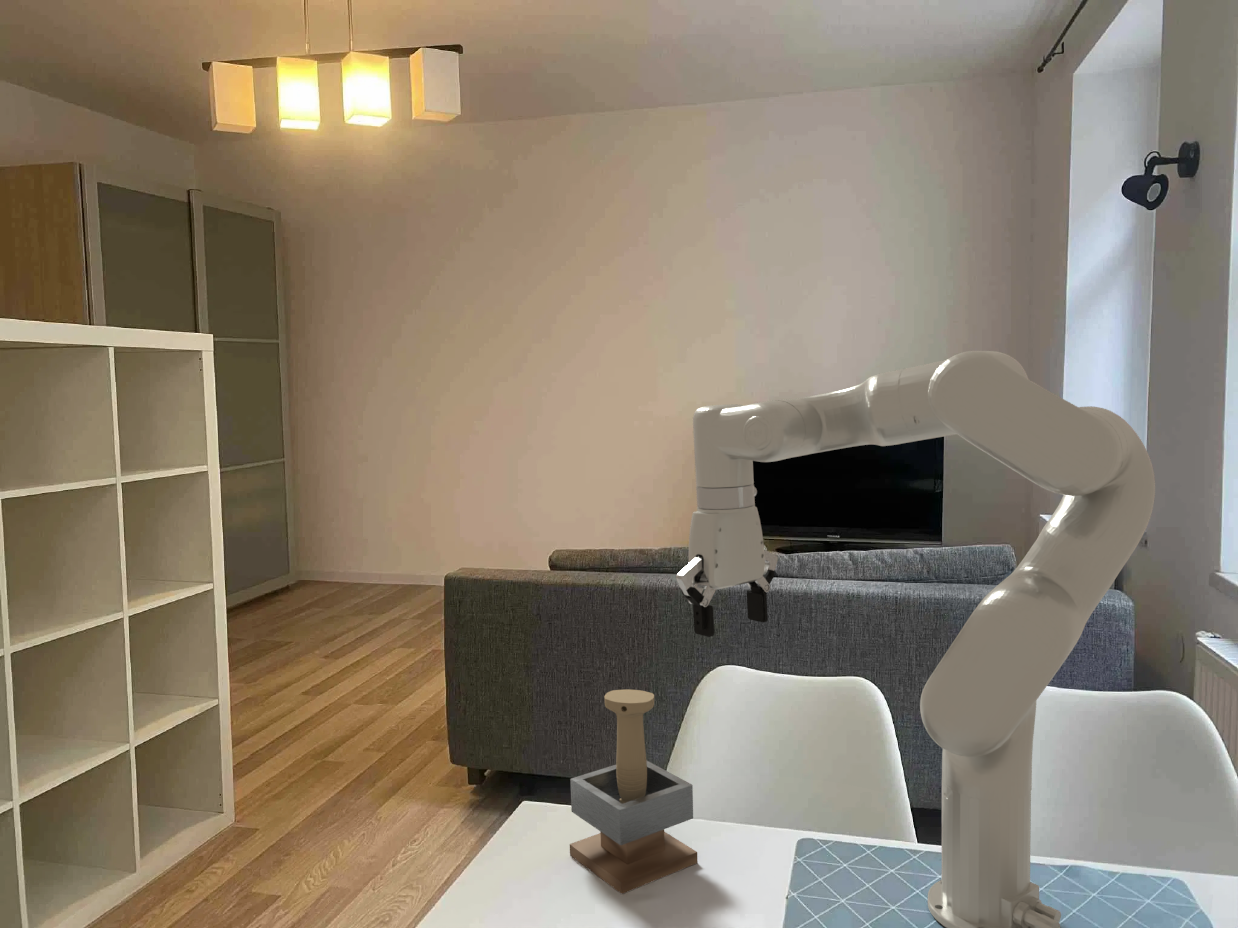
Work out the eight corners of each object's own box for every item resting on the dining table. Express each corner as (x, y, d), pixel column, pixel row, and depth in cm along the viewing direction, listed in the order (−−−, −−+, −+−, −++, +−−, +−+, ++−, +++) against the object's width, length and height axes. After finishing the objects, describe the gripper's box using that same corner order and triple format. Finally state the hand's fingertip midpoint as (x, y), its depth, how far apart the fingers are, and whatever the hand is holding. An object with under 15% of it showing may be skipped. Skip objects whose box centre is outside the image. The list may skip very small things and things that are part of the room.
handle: (651, 818, 119) (648, 704, 117) (603, 813, 121) (599, 700, 119) (661, 801, 123) (658, 691, 122) (614, 796, 125) (611, 687, 124)
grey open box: (693, 818, 121) (692, 784, 120) (620, 845, 114) (619, 809, 114) (641, 788, 130) (640, 756, 130) (571, 811, 123) (570, 778, 123)
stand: (697, 862, 121) (696, 818, 120) (621, 893, 114) (620, 846, 114) (642, 827, 131) (641, 786, 130) (569, 854, 124) (568, 811, 124)
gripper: (752, 490, 130) (757, 611, 132) (656, 504, 120) (663, 635, 121) (792, 493, 124) (797, 619, 126) (694, 508, 114) (701, 646, 115)
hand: (731, 627), depth 124 cm, fingers open, 9 cm apart
